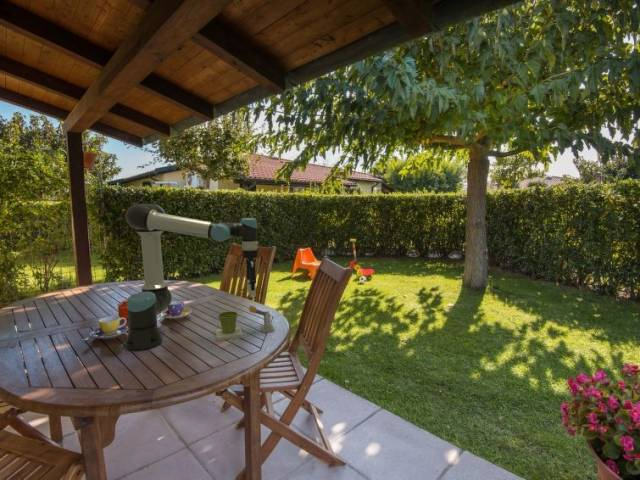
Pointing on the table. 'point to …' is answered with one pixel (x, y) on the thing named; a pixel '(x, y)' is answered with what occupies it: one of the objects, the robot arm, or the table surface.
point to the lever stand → (267, 324)
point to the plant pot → (228, 321)
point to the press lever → (257, 311)
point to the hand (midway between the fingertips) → (251, 294)
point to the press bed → (229, 334)
